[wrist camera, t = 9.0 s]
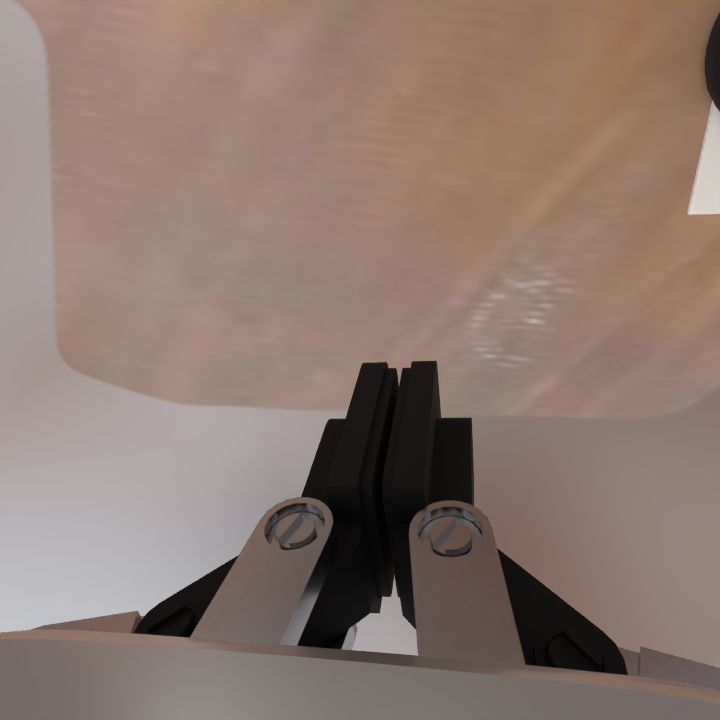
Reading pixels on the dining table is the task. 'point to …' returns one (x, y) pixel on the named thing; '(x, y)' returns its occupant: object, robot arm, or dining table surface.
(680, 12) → the dining table surface
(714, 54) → the controller
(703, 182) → the mat
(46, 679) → the robot arm
